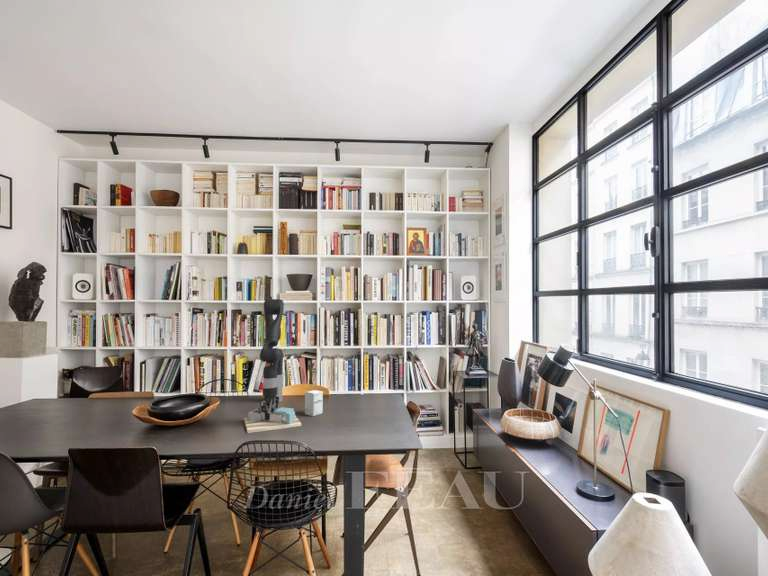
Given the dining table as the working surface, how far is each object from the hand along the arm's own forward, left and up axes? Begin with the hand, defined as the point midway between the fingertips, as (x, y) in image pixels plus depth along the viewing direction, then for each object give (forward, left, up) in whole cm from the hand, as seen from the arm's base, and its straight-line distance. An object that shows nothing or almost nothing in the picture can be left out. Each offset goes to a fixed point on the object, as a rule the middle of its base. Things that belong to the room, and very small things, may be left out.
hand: (269, 418), depth 200 cm
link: (-1, -1, -1) cm, 1 cm away
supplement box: (-6, +25, -2) cm, 26 cm away
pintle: (-5, -5, -2) cm, 7 cm away
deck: (+2, +1, -2) cm, 3 cm away
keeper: (+6, +6, -2) cm, 9 cm away
